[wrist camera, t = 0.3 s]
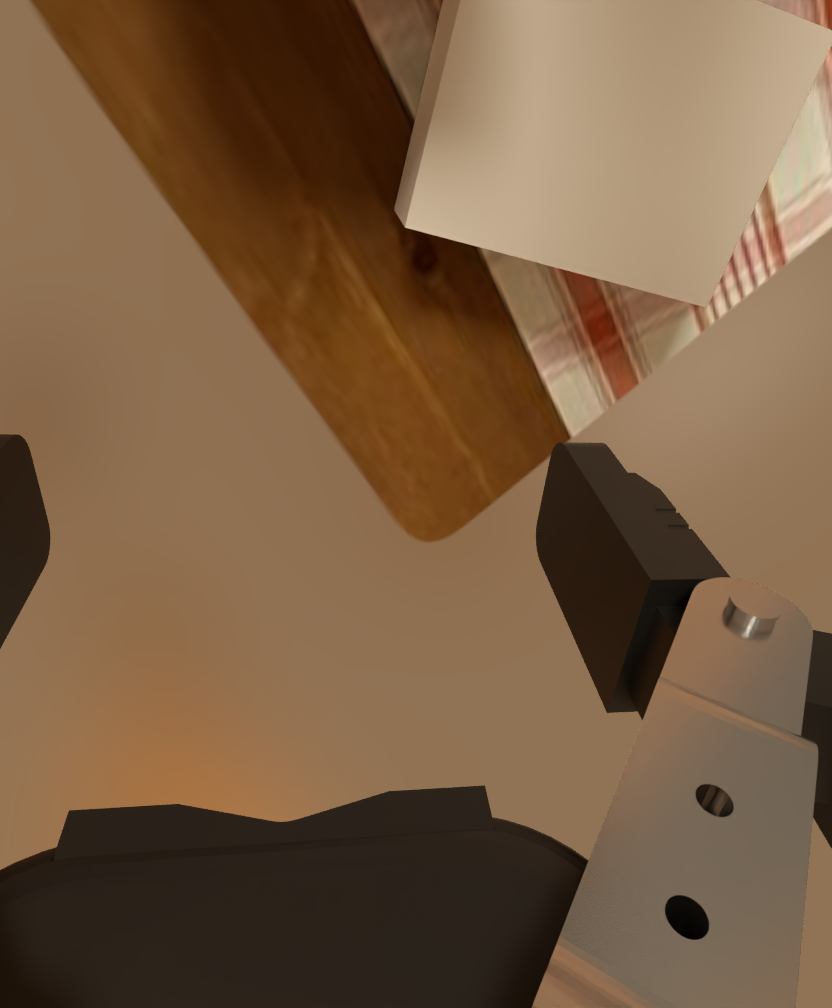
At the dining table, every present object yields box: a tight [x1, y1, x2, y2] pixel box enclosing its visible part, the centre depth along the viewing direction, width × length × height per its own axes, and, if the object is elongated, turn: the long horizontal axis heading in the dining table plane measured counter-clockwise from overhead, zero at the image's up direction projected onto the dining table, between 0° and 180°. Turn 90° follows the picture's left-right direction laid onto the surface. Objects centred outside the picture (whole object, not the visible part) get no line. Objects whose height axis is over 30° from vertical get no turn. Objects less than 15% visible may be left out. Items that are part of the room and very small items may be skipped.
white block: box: [394, 0, 832, 308], centre depth 32 cm, size 12×16×5 cm
